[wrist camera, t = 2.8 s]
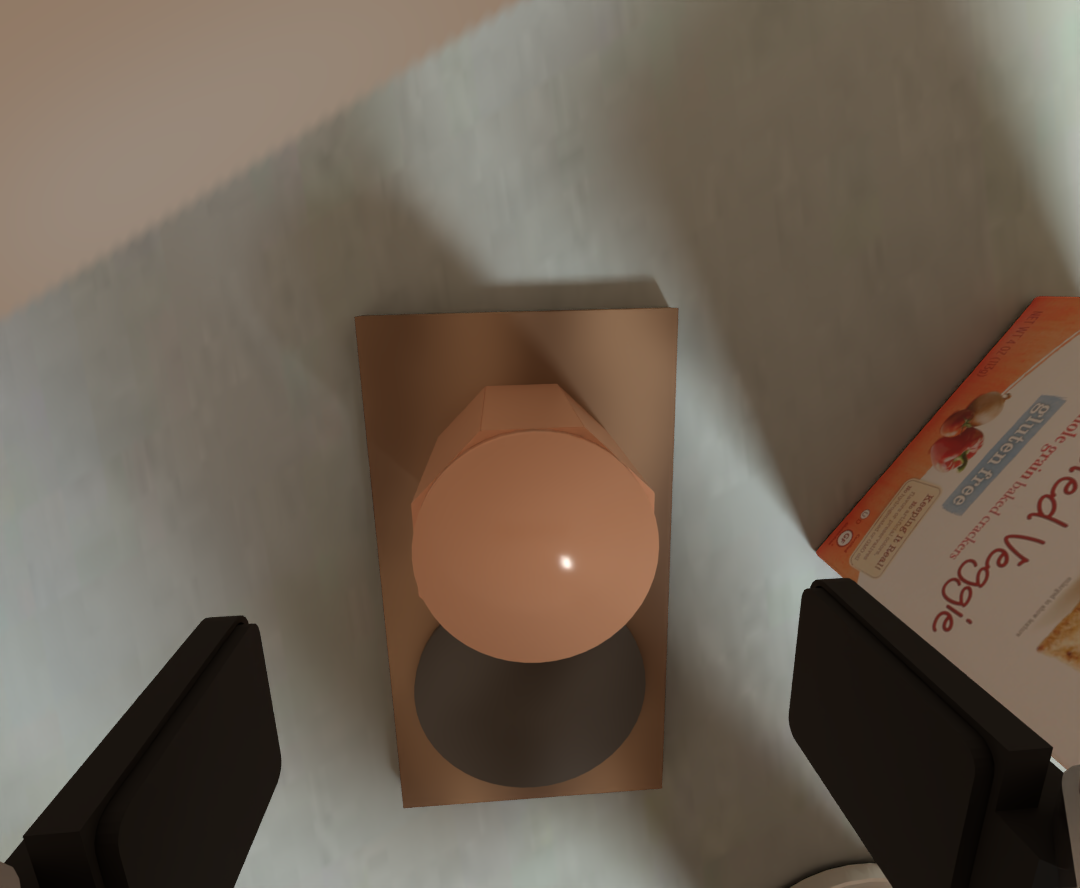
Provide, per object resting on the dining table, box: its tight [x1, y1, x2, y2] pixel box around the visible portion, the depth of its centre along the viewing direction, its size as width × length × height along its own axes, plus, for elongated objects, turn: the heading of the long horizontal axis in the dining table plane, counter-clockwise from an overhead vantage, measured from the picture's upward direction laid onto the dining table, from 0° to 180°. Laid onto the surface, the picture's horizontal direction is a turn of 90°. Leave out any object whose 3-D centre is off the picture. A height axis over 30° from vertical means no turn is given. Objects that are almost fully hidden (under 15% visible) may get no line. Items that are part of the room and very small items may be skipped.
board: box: [355, 307, 678, 808], centre depth 25 cm, size 12×22×2 cm, turn 1°
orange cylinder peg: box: [411, 384, 659, 663], centre depth 20 cm, size 7×7×8 cm
